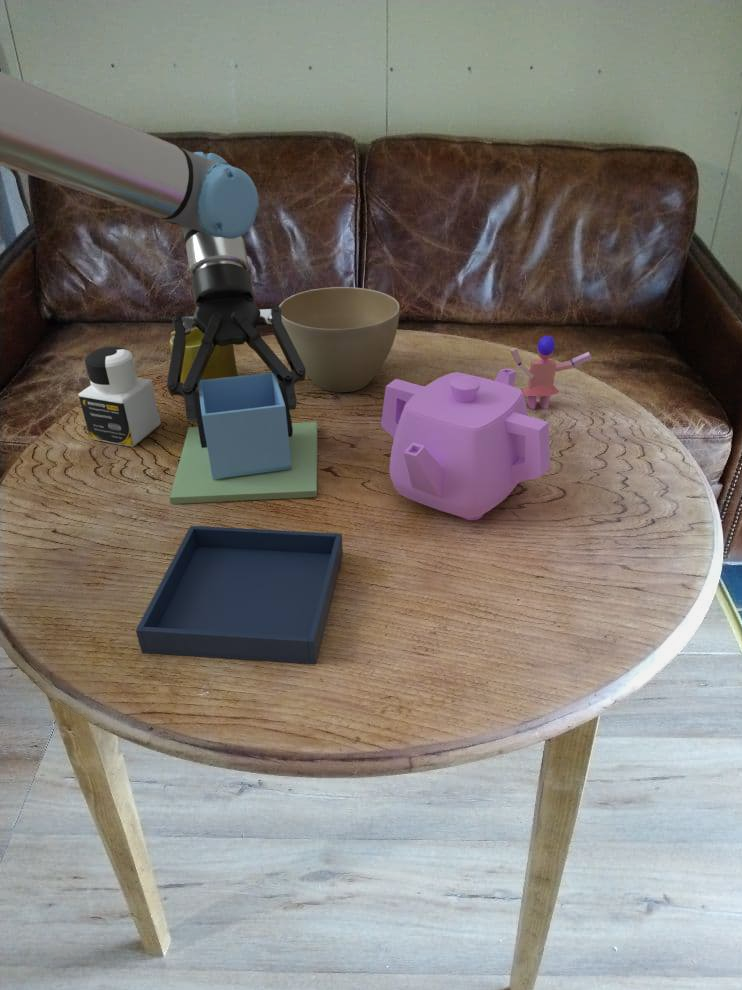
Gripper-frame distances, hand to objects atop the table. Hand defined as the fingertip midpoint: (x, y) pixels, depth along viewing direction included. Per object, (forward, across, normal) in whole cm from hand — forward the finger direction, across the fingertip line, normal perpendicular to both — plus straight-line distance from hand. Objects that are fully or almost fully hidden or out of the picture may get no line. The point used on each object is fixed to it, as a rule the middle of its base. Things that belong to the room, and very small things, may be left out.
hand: (247, 439), depth 100 cm
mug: (-17, +4, -25) cm, 31 cm away
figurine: (-2, -45, -10) cm, 46 cm away
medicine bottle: (-7, +16, -15) cm, 23 cm away
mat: (+2, 0, -6) cm, 6 cm away
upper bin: (+1, 0, -5) cm, 5 cm away
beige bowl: (-13, -17, -21) cm, 30 cm away
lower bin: (+21, +3, +14) cm, 26 cm away
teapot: (+11, -25, +4) cm, 28 cm away
